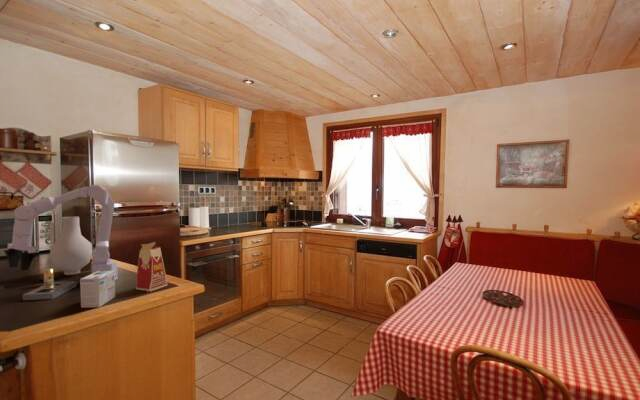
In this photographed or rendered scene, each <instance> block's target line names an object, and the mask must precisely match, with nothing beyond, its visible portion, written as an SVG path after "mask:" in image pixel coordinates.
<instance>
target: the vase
mask: <svg viewBox="0 0 640 400" xmlns="http://www.w3.org/2000/svg"><path fill="white" fill-rule="evenodd" d="M61 218H62V219H61V220H62V223H61V224H62V230H61V235H60V237H59V238H58V239H57V240H56V241H55V242H54V243H53V244H52V245H51V246H50V248H49V249H50V252H49V258H50V260H51V262H52V265H53V267H55V268H57V269H58V270H61V271H62V272H63V275H64V276H65V275H66V276H69V275H70V276H71V275H72V276H73V275H77V274H81V269H83V268H84V267H85V266H86V265H88V264H89V263H91V258H92V257H93V256H92V251H93V245H92V242H91V241H89V240H88V239H86V238H85V237H84V236H83V235H82V231H81V226H80V216H63V217H61Z"/></svg>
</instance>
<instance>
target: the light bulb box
mask: <svg viewBox="0 0 640 400" xmlns="http://www.w3.org/2000/svg"><path fill="white" fill-rule="evenodd" d="M79 281H80V282H79V285H80V286H79V288H80V307H81V309H82V308H84V309H85V308H100V307H102V306H103V305H105V304H107V303H108V302H109V301H111V300H113V299H114V298H116V280H115V271H97V272H94V273H92V272H91V274H89V275H86V276H84V277H81V278H80V280H79Z"/></svg>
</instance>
